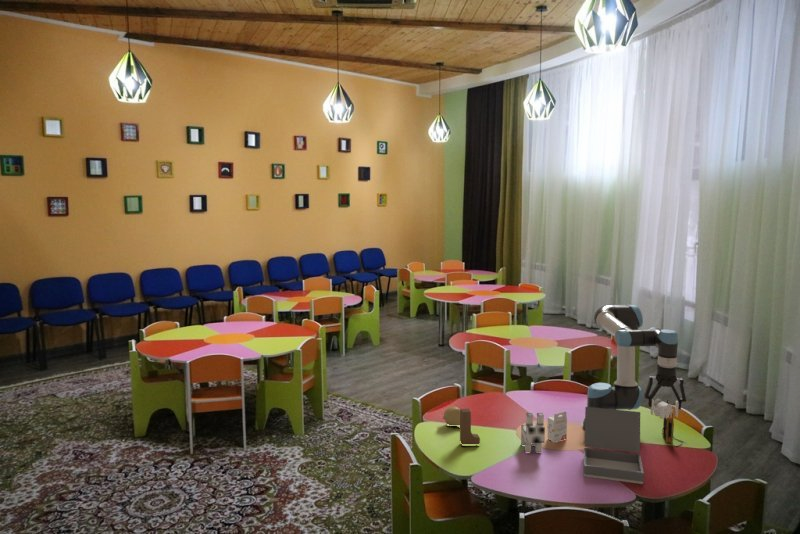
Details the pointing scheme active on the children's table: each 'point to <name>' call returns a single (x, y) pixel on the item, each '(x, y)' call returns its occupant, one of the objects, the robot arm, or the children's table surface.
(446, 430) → the children's table surface
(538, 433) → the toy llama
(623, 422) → the case lid
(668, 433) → the multimeter
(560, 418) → the ink cartridge box
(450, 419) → the toy pig
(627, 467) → the case
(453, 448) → the children's table surface
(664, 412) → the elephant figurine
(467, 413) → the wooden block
